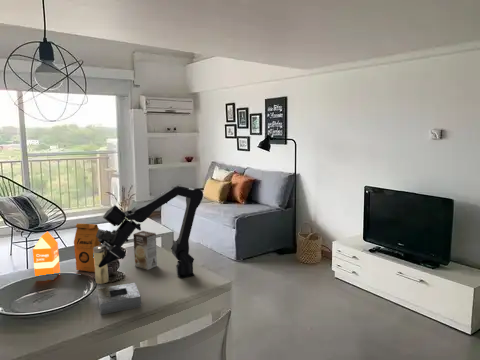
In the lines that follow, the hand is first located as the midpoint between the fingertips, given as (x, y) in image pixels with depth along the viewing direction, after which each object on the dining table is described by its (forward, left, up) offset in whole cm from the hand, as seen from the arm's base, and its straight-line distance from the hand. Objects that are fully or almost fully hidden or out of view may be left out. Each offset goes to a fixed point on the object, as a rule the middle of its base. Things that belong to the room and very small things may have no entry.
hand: (97, 265), depth 150 cm
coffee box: (-22, -22, -12) cm, 34 cm away
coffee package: (+2, -29, -12) cm, 32 cm away
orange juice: (+20, -27, -12) cm, 36 cm away
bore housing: (-6, +13, -12) cm, 18 cm away
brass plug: (-1, 0, -7) cm, 7 cm away
